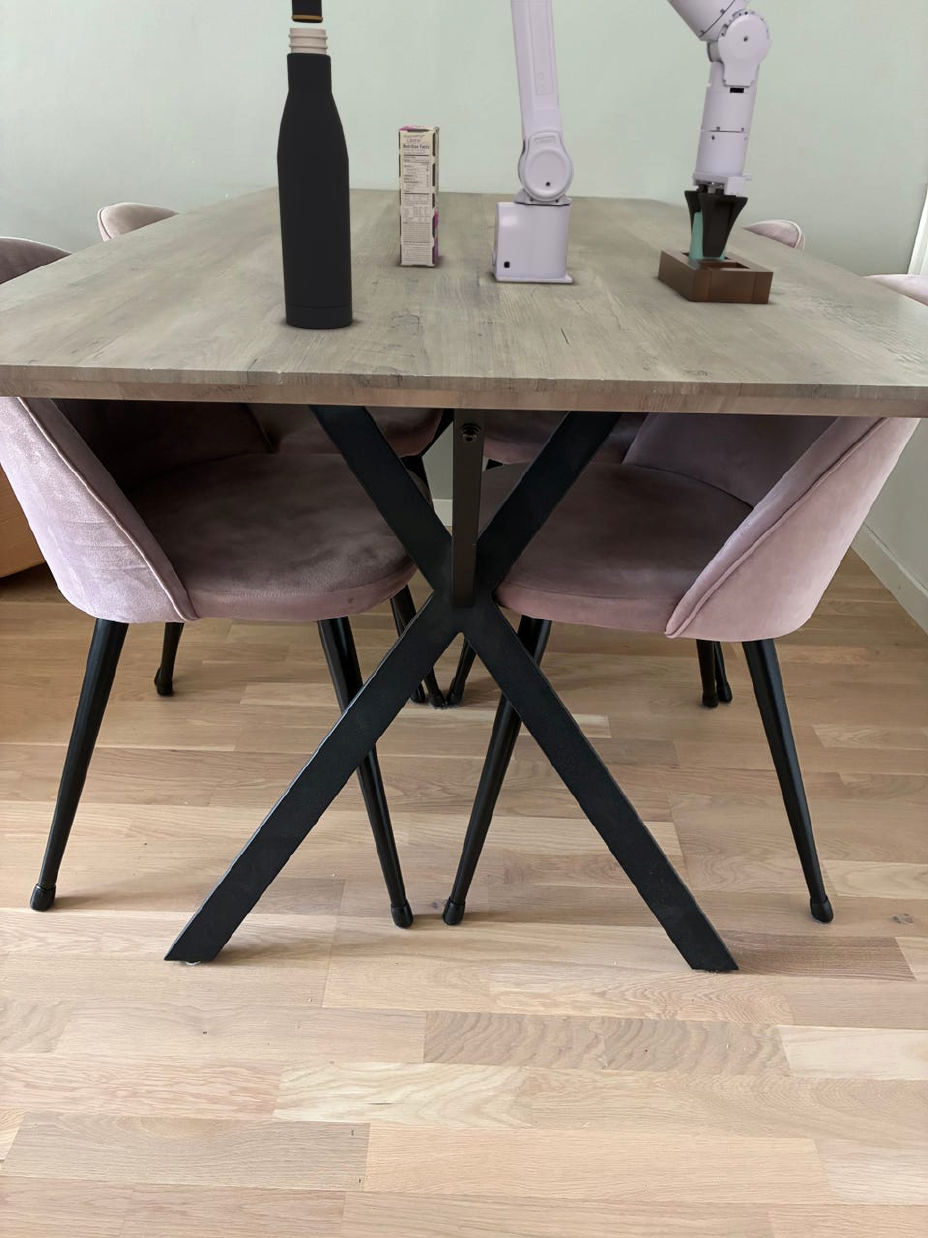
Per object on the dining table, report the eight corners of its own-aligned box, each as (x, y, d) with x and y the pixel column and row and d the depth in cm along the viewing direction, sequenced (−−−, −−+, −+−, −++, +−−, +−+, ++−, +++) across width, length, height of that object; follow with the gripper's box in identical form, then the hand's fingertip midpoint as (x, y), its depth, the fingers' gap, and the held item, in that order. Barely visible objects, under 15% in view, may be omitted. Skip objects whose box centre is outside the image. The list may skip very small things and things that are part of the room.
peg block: (690, 301, 107) (695, 269, 105) (657, 277, 121) (661, 249, 120) (767, 303, 108) (773, 271, 106) (726, 279, 122) (730, 251, 120)
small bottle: (691, 276, 115) (704, 187, 110) (682, 270, 119) (694, 185, 114) (726, 277, 115) (740, 189, 110) (715, 271, 119) (729, 186, 114)
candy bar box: (403, 254, 132) (404, 124, 124) (438, 256, 132) (441, 126, 124) (397, 266, 122) (397, 126, 114) (435, 267, 122) (437, 127, 114)
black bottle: (340, 331, 87) (329, -63, 72) (276, 325, 88) (251, -63, 73) (360, 318, 92) (353, -50, 77) (299, 313, 93) (281, -51, 78)
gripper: (779, 134, 103) (756, 263, 110) (739, 131, 116) (720, 246, 122) (717, 132, 103) (698, 261, 109) (683, 129, 115) (668, 245, 122)
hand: (706, 253), depth 116 cm, fingers closed on small bottle, 4 cm apart
